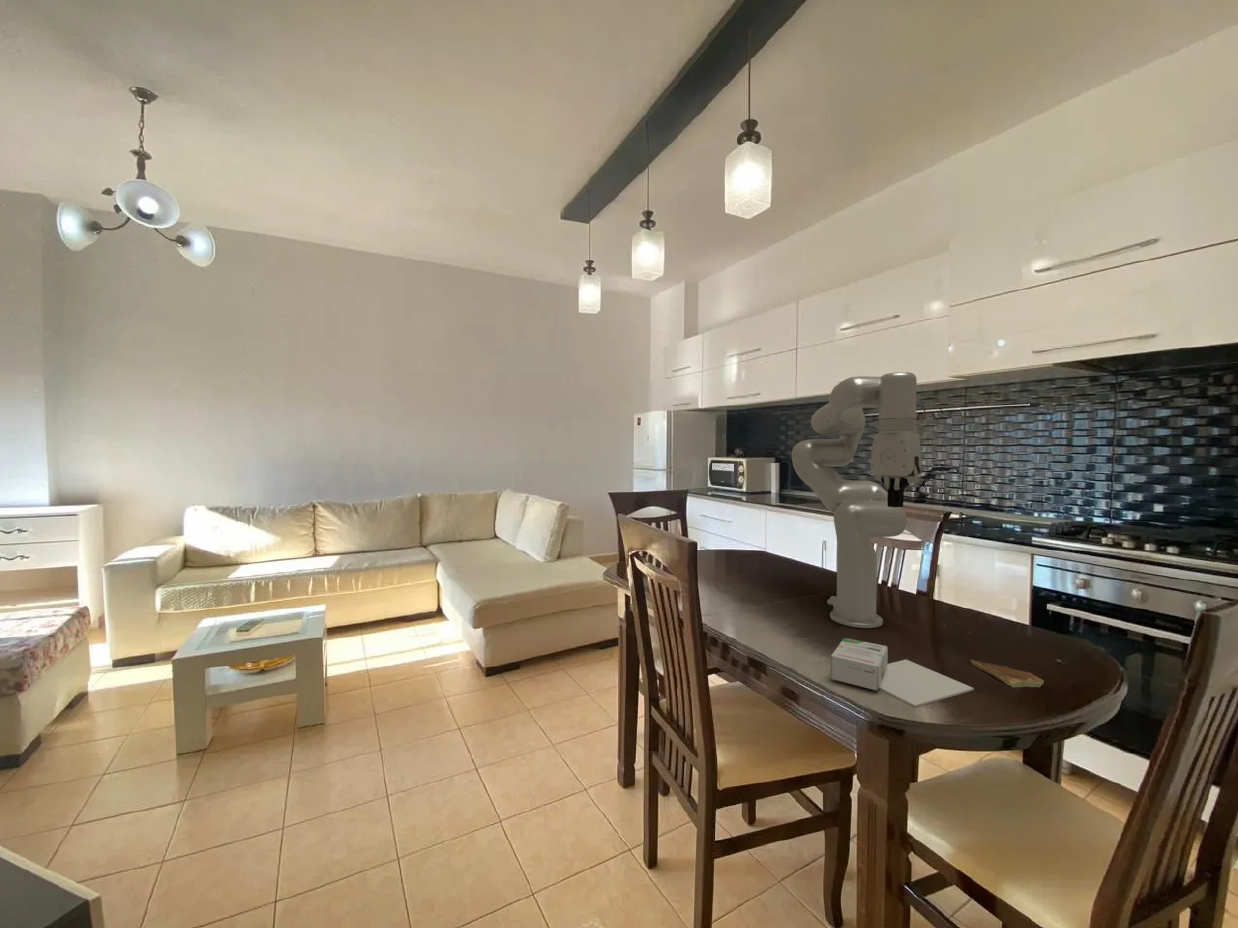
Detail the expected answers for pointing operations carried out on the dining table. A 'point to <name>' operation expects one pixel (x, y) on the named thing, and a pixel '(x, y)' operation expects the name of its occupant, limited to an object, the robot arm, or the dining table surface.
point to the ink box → (859, 663)
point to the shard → (1009, 674)
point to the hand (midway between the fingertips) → (895, 506)
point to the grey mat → (919, 684)
